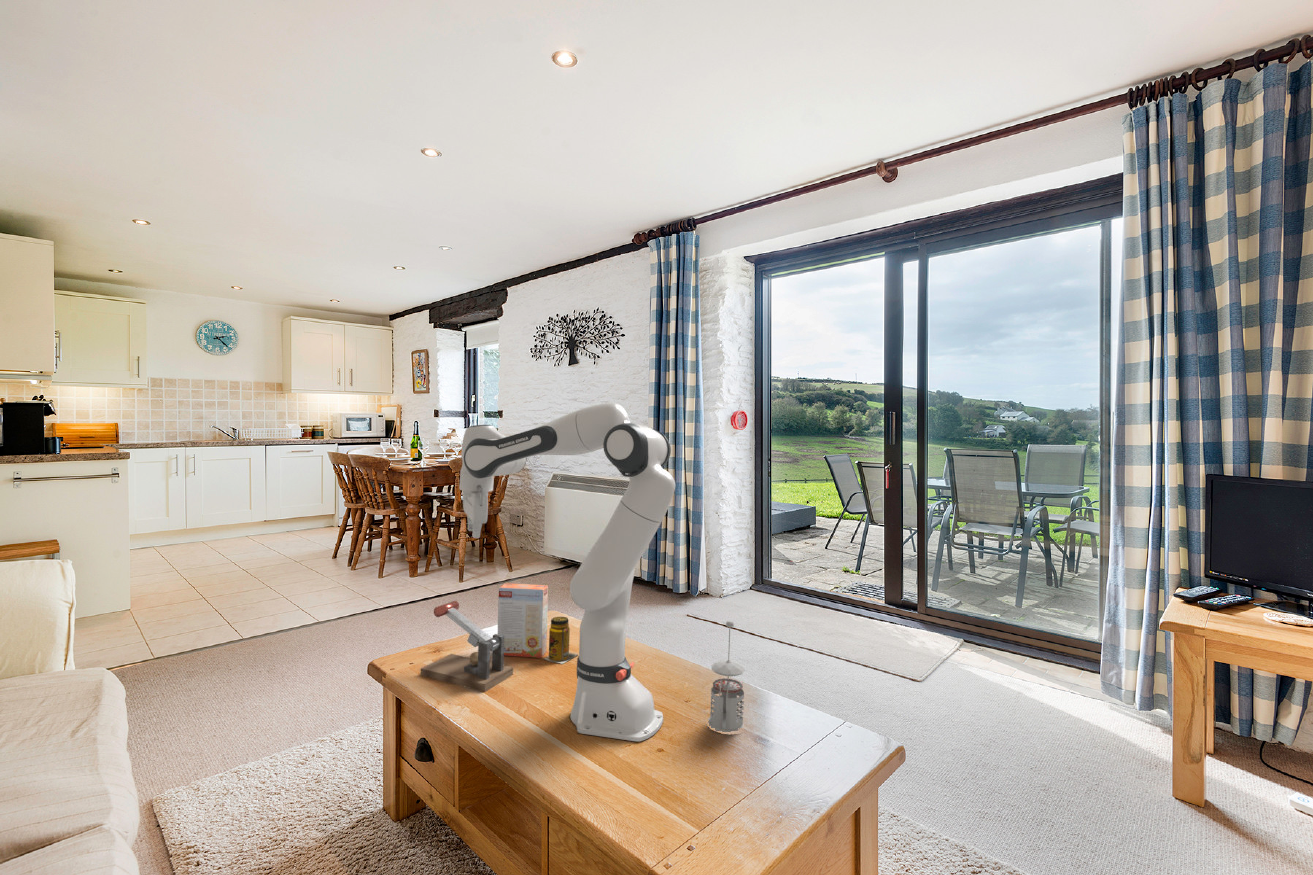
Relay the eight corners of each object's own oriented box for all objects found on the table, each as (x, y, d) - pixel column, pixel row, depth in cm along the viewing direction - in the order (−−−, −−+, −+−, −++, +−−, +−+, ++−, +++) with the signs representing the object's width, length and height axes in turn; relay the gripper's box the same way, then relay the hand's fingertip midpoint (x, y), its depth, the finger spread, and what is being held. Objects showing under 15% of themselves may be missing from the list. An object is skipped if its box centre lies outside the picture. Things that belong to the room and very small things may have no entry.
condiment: (542, 659, 178) (543, 619, 178) (559, 650, 186) (560, 612, 186) (562, 664, 175) (563, 624, 175) (578, 655, 182) (580, 616, 182)
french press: (749, 718, 146) (753, 617, 145) (743, 742, 135) (747, 632, 134) (709, 712, 148) (713, 612, 148) (700, 734, 137) (704, 627, 137)
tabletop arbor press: (512, 674, 167) (514, 633, 166) (484, 691, 156) (486, 648, 155) (451, 660, 175) (452, 621, 175) (420, 675, 164) (421, 634, 164)
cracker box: (547, 651, 184) (549, 584, 184) (541, 658, 178) (543, 589, 178) (503, 648, 186) (505, 581, 186) (496, 655, 180) (498, 586, 180)
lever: (499, 651, 165) (505, 638, 164) (483, 660, 159) (489, 647, 158) (448, 610, 172) (453, 598, 172) (430, 617, 166) (435, 604, 165)
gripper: (495, 488, 154) (491, 541, 154) (482, 479, 173) (480, 527, 173) (469, 488, 151) (466, 542, 152) (460, 479, 170) (457, 527, 170)
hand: (473, 534), depth 163 cm, fingers open, 8 cm apart
